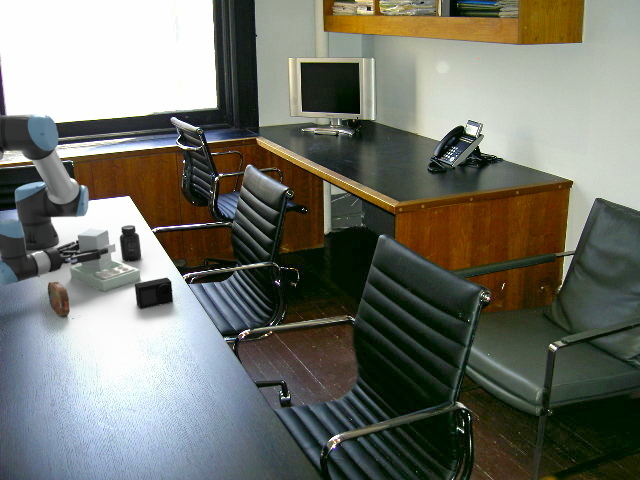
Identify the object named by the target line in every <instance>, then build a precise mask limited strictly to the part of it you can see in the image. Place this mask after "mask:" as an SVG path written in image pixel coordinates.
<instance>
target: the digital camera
mask: <svg viewBox="0 0 640 480" xmlns="http://www.w3.org/2000/svg"><path fill="white" fill-rule="evenodd" d="M134 292H135V299H136V306H137V307H140V308H139V309H140V310H141V309H142V310H143V309H147V308H151V306H152V307H156V305H157V306H161V305H160V304H162V305H165V304H166V305H167V304H171V303H174V297H173V296H174V295H173V284H172V280H171V279H169V278H168V277H163V278H158V279H151V280H147V281H142V282H137V283H134ZM170 302H171V303H170Z"/></svg>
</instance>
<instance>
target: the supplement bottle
mask: <svg viewBox="0 0 640 480" xmlns="http://www.w3.org/2000/svg"><path fill="white" fill-rule="evenodd" d="M120 232H121V234H120V236H119V244H120V252H121V253H120V254H121V260H122V261H124V262H126V263H127V262H129V263H131V262H136V261H139V260H141V258H142V250H141V241H140V235H139V234H138V233H137V232H136V226H135V225H131V224H129V225H128V224H127V225H124V226H121V231H120Z"/></svg>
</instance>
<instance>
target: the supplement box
mask: <svg viewBox="0 0 640 480" xmlns="http://www.w3.org/2000/svg"><path fill="white" fill-rule="evenodd" d="M77 240H78V242H79V249H80V250H79V251H88V250H96V249H97V248H99V247H102V246H106V245H110V244H111V243H110V239H109V230H107V229H96V228H94V229H93V228H89V229H86V230H85V231H82V232H80V233H79V234H77ZM111 259H112V253H109V254H105V255H102V256H101V259H99V260H98V259H97V260H92V261H87V262H82V263H80V265H82V270H83V271H95V272H101V271H103V270H105V269H107V268H108V267H110V266H112V260H111Z"/></svg>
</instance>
